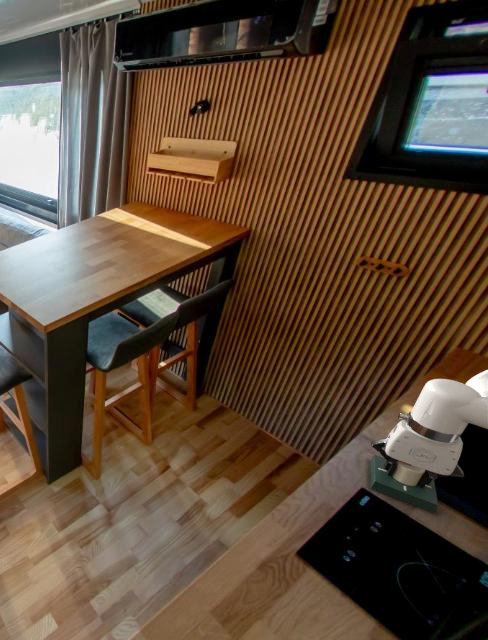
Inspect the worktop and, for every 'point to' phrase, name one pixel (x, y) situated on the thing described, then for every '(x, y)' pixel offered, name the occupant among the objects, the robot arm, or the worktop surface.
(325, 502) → the worktop surface
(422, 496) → the panel
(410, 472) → the grip knob
